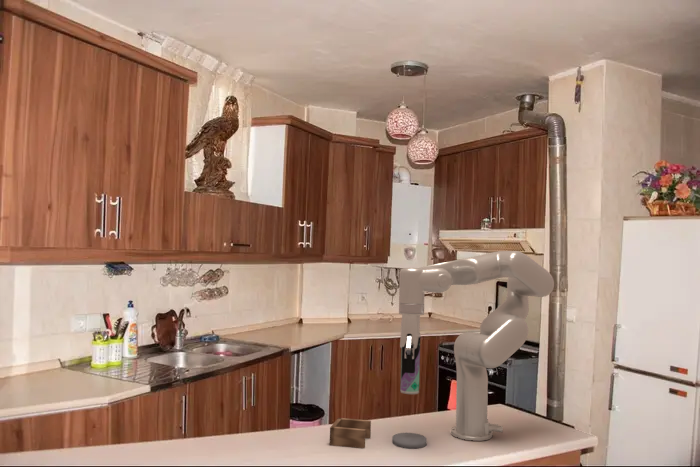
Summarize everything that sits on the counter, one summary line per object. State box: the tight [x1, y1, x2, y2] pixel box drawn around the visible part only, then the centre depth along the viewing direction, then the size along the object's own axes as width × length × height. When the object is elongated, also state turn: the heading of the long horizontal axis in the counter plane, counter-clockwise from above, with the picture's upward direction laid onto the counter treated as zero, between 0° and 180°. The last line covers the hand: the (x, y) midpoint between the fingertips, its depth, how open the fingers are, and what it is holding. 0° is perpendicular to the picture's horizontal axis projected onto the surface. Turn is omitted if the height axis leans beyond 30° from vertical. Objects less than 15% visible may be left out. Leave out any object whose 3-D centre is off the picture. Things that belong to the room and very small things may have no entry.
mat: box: [391, 432, 427, 450], centre depth 166 cm, size 10×10×2 cm
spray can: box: [399, 332, 421, 395], centre depth 167 cm, size 6×6×20 cm
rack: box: [329, 417, 372, 449], centre depth 166 cm, size 10×10×5 cm
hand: (410, 370), depth 167 cm, fingers closed on spray can, 5 cm apart
